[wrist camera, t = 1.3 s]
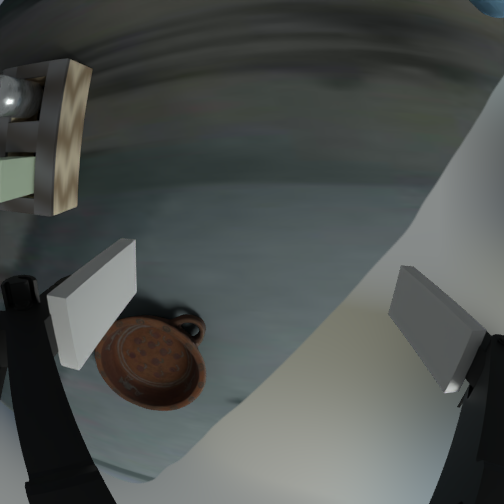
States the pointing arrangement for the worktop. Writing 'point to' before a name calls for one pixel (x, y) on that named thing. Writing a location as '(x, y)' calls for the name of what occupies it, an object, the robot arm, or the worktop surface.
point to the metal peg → (19, 97)
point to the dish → (153, 361)
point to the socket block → (49, 135)
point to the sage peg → (16, 177)
